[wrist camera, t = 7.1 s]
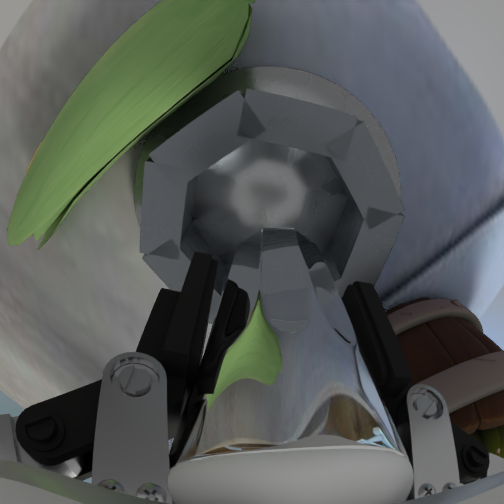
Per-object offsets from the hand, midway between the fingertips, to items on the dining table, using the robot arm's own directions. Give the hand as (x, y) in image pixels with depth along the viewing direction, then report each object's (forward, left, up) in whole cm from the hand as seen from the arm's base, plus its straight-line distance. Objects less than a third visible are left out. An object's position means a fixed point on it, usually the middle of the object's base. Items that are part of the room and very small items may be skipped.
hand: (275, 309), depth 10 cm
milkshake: (0, 0, -2) cm, 2 cm away
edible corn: (+3, +10, -9) cm, 14 cm away
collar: (0, 0, -9) cm, 9 cm away
